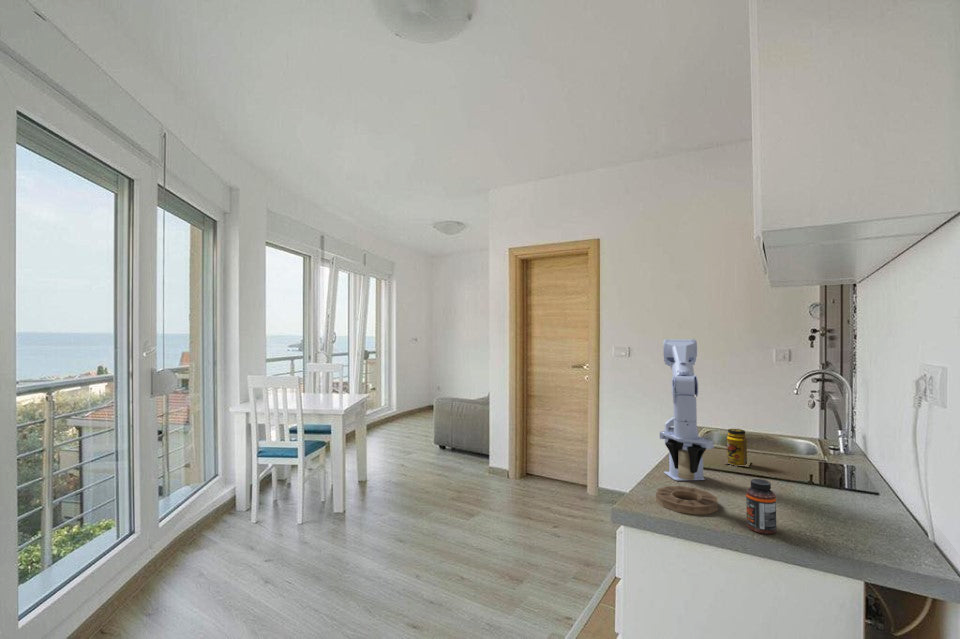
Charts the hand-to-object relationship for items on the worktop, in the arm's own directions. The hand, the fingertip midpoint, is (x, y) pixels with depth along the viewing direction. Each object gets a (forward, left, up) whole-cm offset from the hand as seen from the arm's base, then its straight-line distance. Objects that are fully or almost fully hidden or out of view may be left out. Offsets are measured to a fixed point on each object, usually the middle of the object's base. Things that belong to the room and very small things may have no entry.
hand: (685, 470), depth 122 cm
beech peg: (0, 0, -2) cm, 2 cm away
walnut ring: (0, 0, -9) cm, 9 cm away
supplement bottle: (-9, +17, -9) cm, 21 cm away
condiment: (-37, -33, -9) cm, 50 cm away
